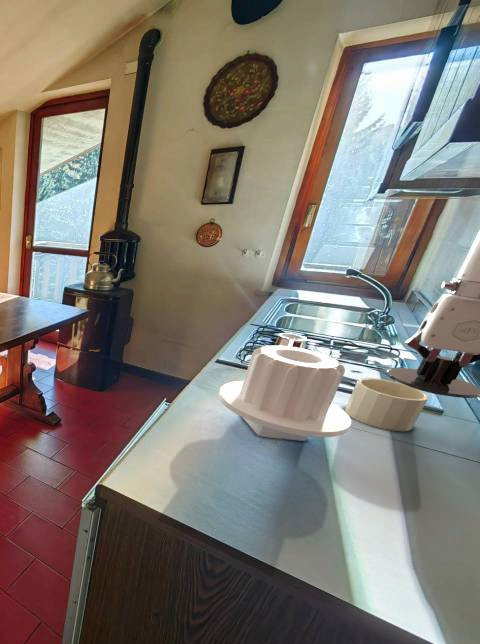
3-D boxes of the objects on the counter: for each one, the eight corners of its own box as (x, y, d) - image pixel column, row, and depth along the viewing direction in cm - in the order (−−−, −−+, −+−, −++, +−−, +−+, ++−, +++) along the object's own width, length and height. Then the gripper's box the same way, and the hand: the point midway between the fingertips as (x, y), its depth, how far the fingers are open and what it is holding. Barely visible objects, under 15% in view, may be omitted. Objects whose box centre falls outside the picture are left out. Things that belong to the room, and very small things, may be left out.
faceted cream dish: (401, 414, 102) (416, 384, 98) (421, 436, 92) (438, 405, 88) (339, 402, 107) (352, 374, 104) (352, 422, 98) (366, 392, 94)
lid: (460, 381, 82) (475, 354, 80) (495, 407, 72) (514, 377, 70) (376, 368, 89) (388, 342, 86) (397, 390, 78) (412, 362, 76)
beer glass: (289, 390, 114) (307, 342, 108) (260, 383, 118) (276, 336, 112) (291, 383, 119) (309, 336, 113) (264, 376, 123) (279, 331, 117)
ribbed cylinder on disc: (368, 465, 82) (409, 384, 74) (236, 450, 86) (263, 373, 79) (300, 408, 104) (326, 342, 96) (199, 399, 109) (216, 334, 101)
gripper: (428, 289, 73) (386, 378, 81) (562, 300, 66) (502, 397, 73) (412, 283, 79) (374, 366, 87) (534, 292, 72) (480, 382, 79)
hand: (433, 379), depth 80 cm, fingers closed on lid, 2 cm apart
